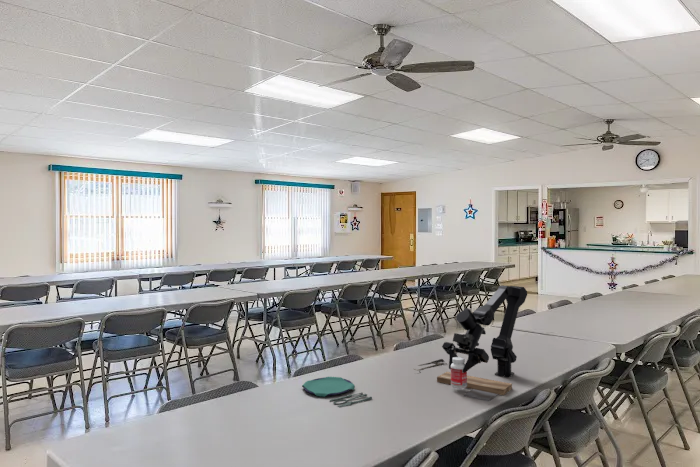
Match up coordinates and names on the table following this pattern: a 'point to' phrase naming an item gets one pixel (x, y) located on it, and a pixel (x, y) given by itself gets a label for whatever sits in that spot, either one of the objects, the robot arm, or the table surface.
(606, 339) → the table surface
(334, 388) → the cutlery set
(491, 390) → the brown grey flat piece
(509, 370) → the robot arm
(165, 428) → the table surface
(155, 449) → the table surface
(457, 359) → the pill bottle
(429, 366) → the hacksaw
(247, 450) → the table surface
